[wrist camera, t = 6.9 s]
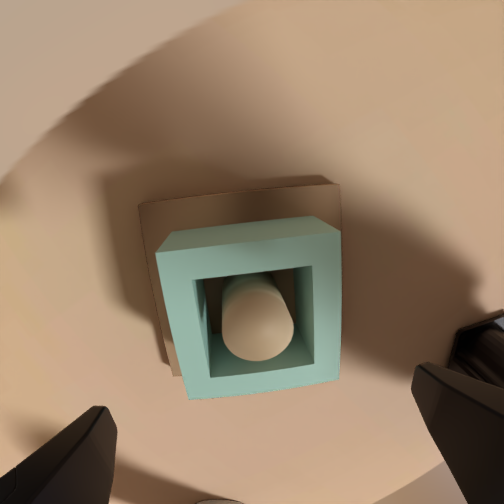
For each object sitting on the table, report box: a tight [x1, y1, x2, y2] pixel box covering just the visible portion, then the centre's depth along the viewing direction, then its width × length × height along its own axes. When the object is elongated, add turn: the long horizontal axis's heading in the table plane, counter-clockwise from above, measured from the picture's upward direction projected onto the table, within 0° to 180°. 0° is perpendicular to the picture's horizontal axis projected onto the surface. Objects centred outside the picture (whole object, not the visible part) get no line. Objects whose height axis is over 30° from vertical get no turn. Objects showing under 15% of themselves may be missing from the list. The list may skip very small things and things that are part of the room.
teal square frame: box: [155, 216, 342, 400], centre depth 15 cm, size 7×7×4 cm
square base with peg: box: [138, 184, 342, 376], centre depth 15 cm, size 10×10×5 cm
